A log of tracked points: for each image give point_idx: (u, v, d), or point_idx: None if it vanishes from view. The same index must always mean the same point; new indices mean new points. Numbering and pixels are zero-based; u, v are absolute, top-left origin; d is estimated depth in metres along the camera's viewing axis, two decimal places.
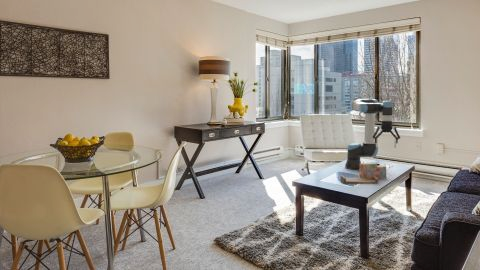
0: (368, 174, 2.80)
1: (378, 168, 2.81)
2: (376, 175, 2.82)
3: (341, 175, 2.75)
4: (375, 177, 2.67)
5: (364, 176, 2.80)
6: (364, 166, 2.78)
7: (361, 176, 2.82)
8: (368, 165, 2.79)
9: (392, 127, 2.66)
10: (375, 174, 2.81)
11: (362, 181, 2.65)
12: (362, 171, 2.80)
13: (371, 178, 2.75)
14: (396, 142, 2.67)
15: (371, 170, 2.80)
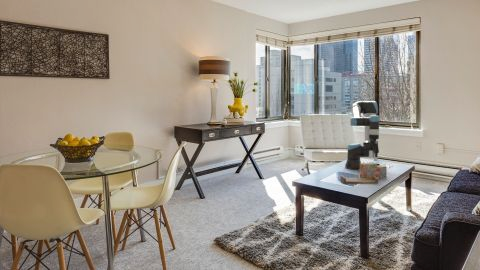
0: (368, 174, 2.80)
1: (378, 168, 2.81)
2: (376, 175, 2.82)
3: (341, 175, 2.75)
4: (375, 177, 2.67)
5: (364, 176, 2.80)
6: (364, 166, 2.79)
7: (361, 176, 2.82)
8: (368, 165, 2.79)
9: None
10: (375, 174, 2.82)
11: (362, 181, 2.65)
12: (362, 171, 2.80)
13: (371, 178, 2.75)
14: (375, 156, 2.75)
15: (371, 170, 2.80)
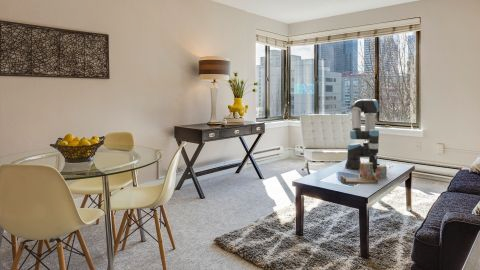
0: (368, 174, 2.80)
1: (378, 168, 2.82)
2: (376, 175, 2.82)
3: (341, 175, 2.75)
4: (375, 177, 2.67)
5: (364, 176, 2.80)
6: (364, 166, 2.79)
7: (361, 176, 2.83)
8: (368, 165, 2.80)
9: (374, 155, 2.79)
10: None
11: (362, 181, 2.65)
12: (362, 171, 2.81)
13: (371, 178, 2.75)
14: (373, 171, 2.80)
15: (371, 169, 2.81)
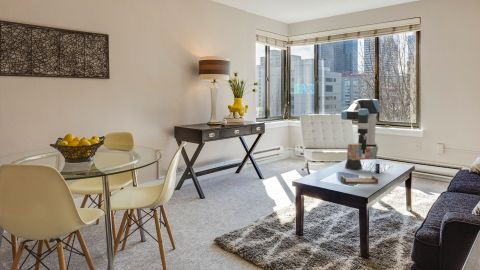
0: (357, 155, 2.66)
1: (368, 149, 2.67)
2: (366, 156, 2.68)
3: (341, 175, 2.75)
4: (375, 177, 2.67)
5: (353, 157, 2.66)
6: (353, 146, 2.65)
7: (350, 157, 2.68)
8: (357, 145, 2.65)
9: (363, 136, 2.64)
10: (365, 155, 2.68)
11: (362, 181, 2.65)
12: (351, 152, 2.66)
13: (371, 178, 2.75)
14: (362, 152, 2.65)
15: (360, 150, 2.66)
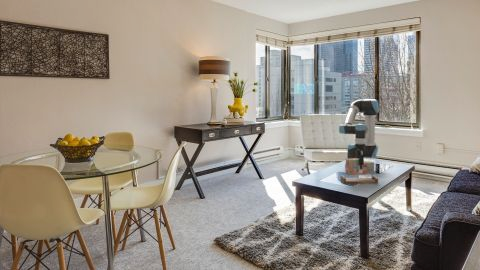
0: (354, 170, 2.66)
1: (365, 164, 2.67)
2: (363, 171, 2.67)
3: (341, 175, 2.75)
4: (375, 177, 2.67)
5: (350, 172, 2.66)
6: (350, 162, 2.64)
7: (347, 172, 2.68)
8: (354, 161, 2.65)
9: (360, 151, 2.64)
10: None
11: (362, 181, 2.65)
12: (348, 167, 2.66)
13: (371, 178, 2.75)
14: (360, 168, 2.65)
15: (358, 166, 2.66)
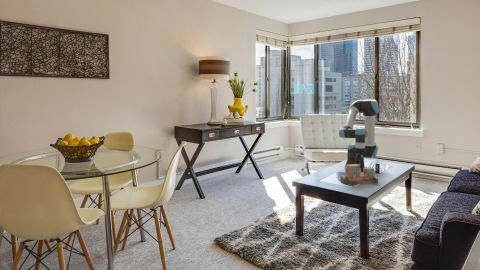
0: (354, 176, 2.67)
1: (365, 170, 2.68)
2: (363, 177, 2.68)
3: (341, 175, 2.75)
4: (375, 177, 2.67)
5: (350, 178, 2.66)
6: (350, 168, 2.65)
7: (347, 178, 2.69)
8: (354, 167, 2.66)
9: None
10: (362, 176, 2.68)
11: (362, 181, 2.65)
12: (348, 173, 2.67)
13: None
14: (360, 171, 2.62)
15: (357, 171, 2.67)
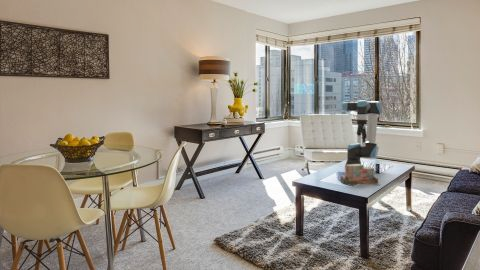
0: (354, 176, 2.67)
1: (365, 170, 2.68)
2: (363, 177, 2.68)
3: (341, 175, 2.75)
4: (375, 177, 2.67)
5: (350, 178, 2.67)
6: (350, 168, 2.66)
7: (347, 178, 2.69)
8: (354, 167, 2.66)
9: None
10: (362, 176, 2.68)
11: (362, 181, 2.65)
12: (348, 173, 2.67)
13: None
14: (363, 141, 2.74)
15: (357, 171, 2.67)
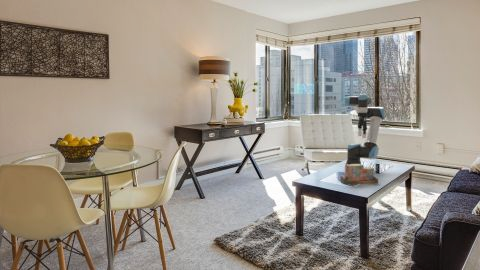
0: (354, 176, 2.67)
1: (365, 170, 2.68)
2: (363, 177, 2.68)
3: (341, 175, 2.75)
4: (375, 177, 2.67)
5: (350, 178, 2.67)
6: (349, 168, 2.66)
7: (347, 178, 2.69)
8: (354, 167, 2.66)
9: None
10: (362, 176, 2.68)
11: (362, 181, 2.65)
12: (348, 173, 2.68)
13: None
14: (363, 133, 2.84)
15: (357, 171, 2.67)
